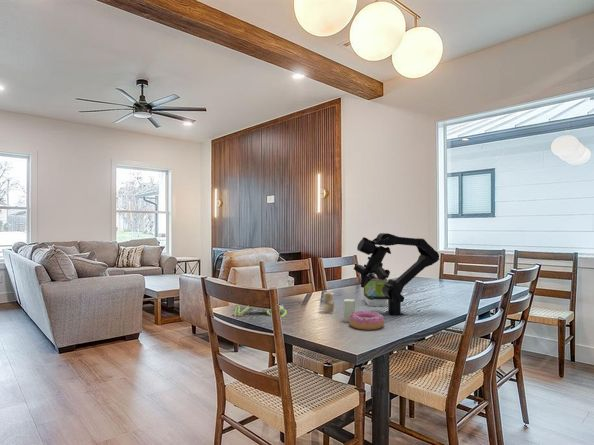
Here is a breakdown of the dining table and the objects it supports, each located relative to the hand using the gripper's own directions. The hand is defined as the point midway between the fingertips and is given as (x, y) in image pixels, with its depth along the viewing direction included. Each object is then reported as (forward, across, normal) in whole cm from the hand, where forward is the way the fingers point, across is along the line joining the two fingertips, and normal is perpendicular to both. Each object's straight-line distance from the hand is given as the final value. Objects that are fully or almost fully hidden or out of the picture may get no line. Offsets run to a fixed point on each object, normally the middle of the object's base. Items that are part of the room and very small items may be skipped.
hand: (362, 287), depth 179 cm
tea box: (+10, +25, +4) cm, 28 cm away
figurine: (+32, -29, +26) cm, 51 cm away
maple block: (+18, -6, +6) cm, 20 cm away
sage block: (+12, -13, -10) cm, 20 cm away
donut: (+8, -15, -19) cm, 26 cm away
